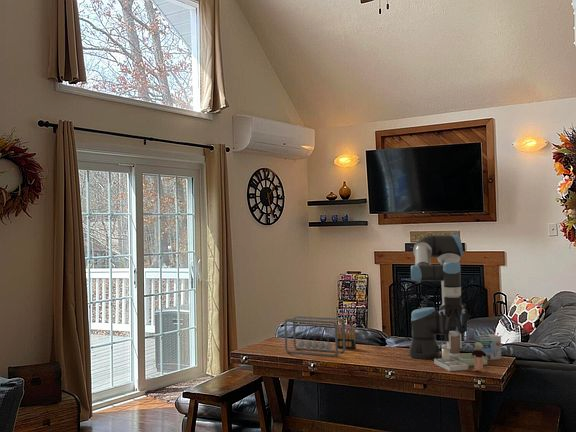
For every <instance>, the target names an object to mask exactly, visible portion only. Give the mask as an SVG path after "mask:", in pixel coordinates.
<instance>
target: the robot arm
mask: <svg viewBox="0 0 576 432" xmlns="http://www.w3.org/2000/svg"><path fill="white" fill-rule="evenodd" d="M412 249H413V250H412V253H413V256H414V264H413V265H411V266H410V279H411V281H413V282H414V281H415V282H440V283H441V284H440V285H441V300H442V302H441V303H442V304H441V305H440V306H439V310H436V308H435V307H430V306H429V307H421V308H417V309H414V310H412V312H411V319H410V321H411V341H410V346H409V350H408V356H409V357H411V358H414V359H420V360H421V359H423V360H424V359H427V360H428V359H435V358H436V359H438V358H440V357H441V351H440V348H439V347H440V346H439V344H438V342H437V335H441V336H443V335H444V341H445V342H446V344H447V348H448V349H451V334H449V331H458V332H459V349H462V348H463V347H462V345H463V344H462V341H464V334H465V333H467V331H468V312H469V310H468V309H465V308H464V306H463V305H462V304H463V303H462V284H461V283H462V279H461V274H462V273H461V271H462V268H461V263H460V260H461V258H462V257H463V256H464V249H463V244H462V239H461V237H460V236H459V235H457V234H447V235H446V234H442V235H441V234H437V235H436V234H434V235H433V234H430V235H426V236H423V237H422V238H420V239H418V240H417V241H416V242H415V244H414V245H413V248H412ZM431 258H437V262H439V264H432V262H431V261H432V260H431Z"/></svg>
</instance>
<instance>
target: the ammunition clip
mask: <svg viewBox="0 0 576 432" xmlns="http://www.w3.org/2000/svg"><path fill="white" fill-rule="evenodd" d="M339 326H340V327H339ZM337 341H338V349H343V326H342V325H337ZM356 349H357V345H356V333H355V328H354V326H352V327H351V326H349V327H348V325H346V327H345V350H356Z"/></svg>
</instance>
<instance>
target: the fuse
mask: <svg viewBox="0 0 576 432" xmlns="http://www.w3.org/2000/svg"><path fill="white" fill-rule="evenodd" d="M441 359H442V361H443V362H450V361H452V357H450V355H449V349H448V348H447V343H444V344H441Z"/></svg>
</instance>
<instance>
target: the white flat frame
mask: <svg viewBox="0 0 576 432" xmlns="http://www.w3.org/2000/svg"><path fill="white" fill-rule="evenodd" d="M433 360H434V361H433V363H434V364H435V365H437V366H439V367H441V368H443V369H444V370H446V371H448V372H453V371H455V372H456V371H467V370H468V371H469V366H468V365H467V364H465V363H463V362H460V361H458V360H456V359H454V358H452V361H450V362H443V361H442V358H433Z"/></svg>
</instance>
